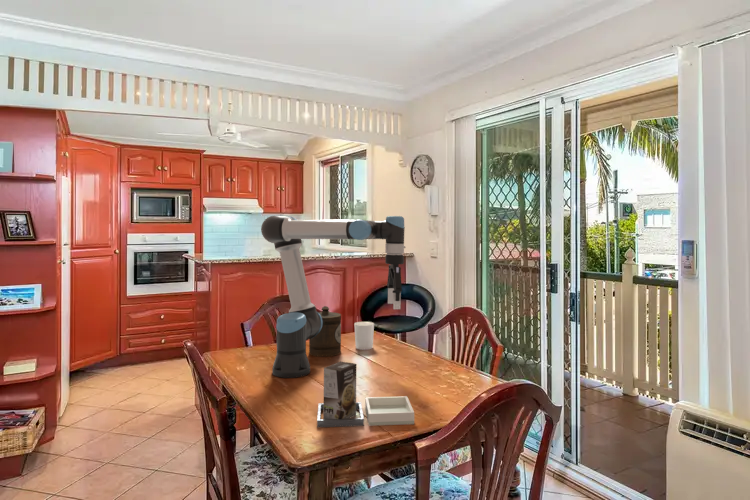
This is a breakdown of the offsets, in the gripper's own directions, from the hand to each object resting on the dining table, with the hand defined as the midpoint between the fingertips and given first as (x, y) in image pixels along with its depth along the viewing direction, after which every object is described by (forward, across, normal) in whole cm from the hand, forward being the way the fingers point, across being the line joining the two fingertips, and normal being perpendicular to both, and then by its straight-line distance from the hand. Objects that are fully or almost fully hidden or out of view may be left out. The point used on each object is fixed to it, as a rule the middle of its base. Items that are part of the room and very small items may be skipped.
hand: (393, 306), depth 188 cm
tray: (+27, -45, +9) cm, 53 cm away
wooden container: (+27, +33, +27) cm, 50 cm away
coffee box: (+27, -45, +24) cm, 57 cm away
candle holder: (+27, +40, +7) cm, 49 cm away
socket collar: (+27, -44, +24) cm, 57 cm away
